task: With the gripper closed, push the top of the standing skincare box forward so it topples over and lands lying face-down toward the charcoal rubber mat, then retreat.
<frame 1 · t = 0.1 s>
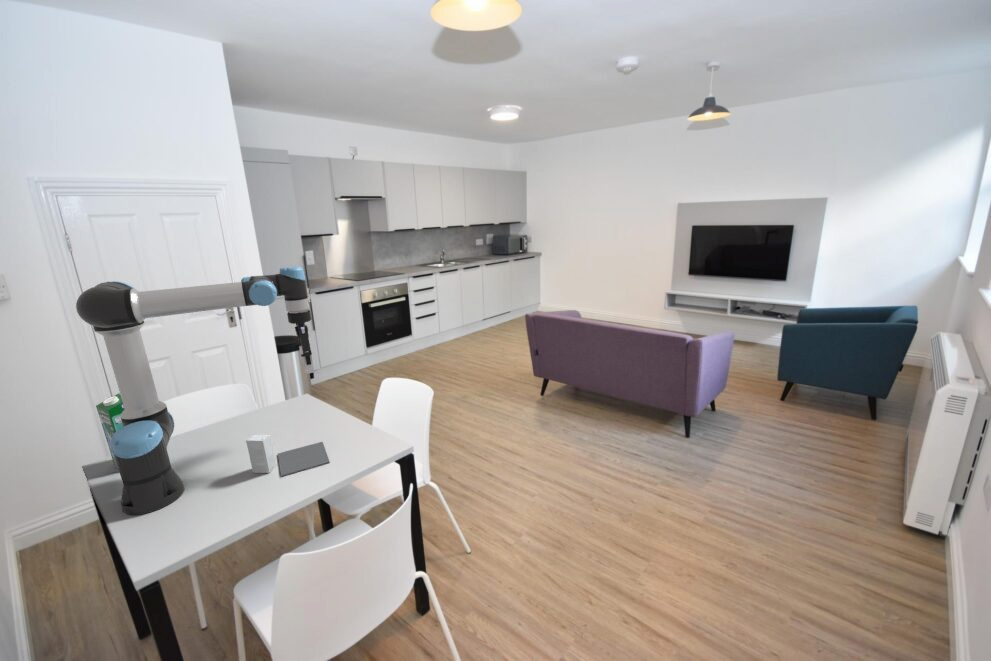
hand: (307, 367, 158), 28 cm above the table, fingers open, 13 cm apart
mat: (303, 458, 150), on the table
milk carton: (135, 461, 154), on the table
skincare box: (265, 470, 145), on the table
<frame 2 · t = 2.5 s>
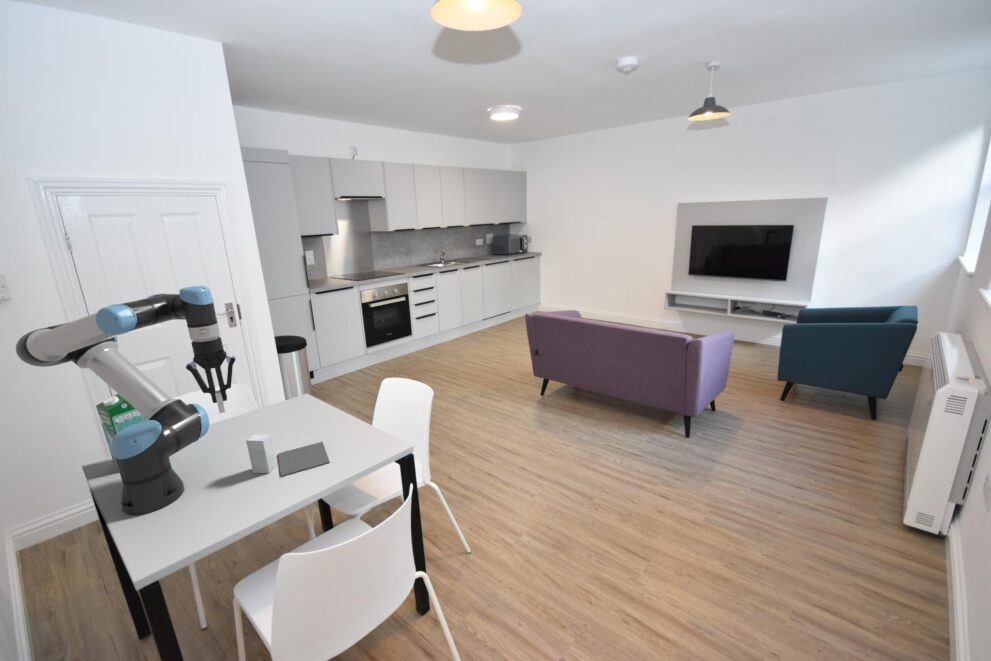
hand: (222, 410, 135), 24 cm above the table, fingers closed
nothing on the table moved.
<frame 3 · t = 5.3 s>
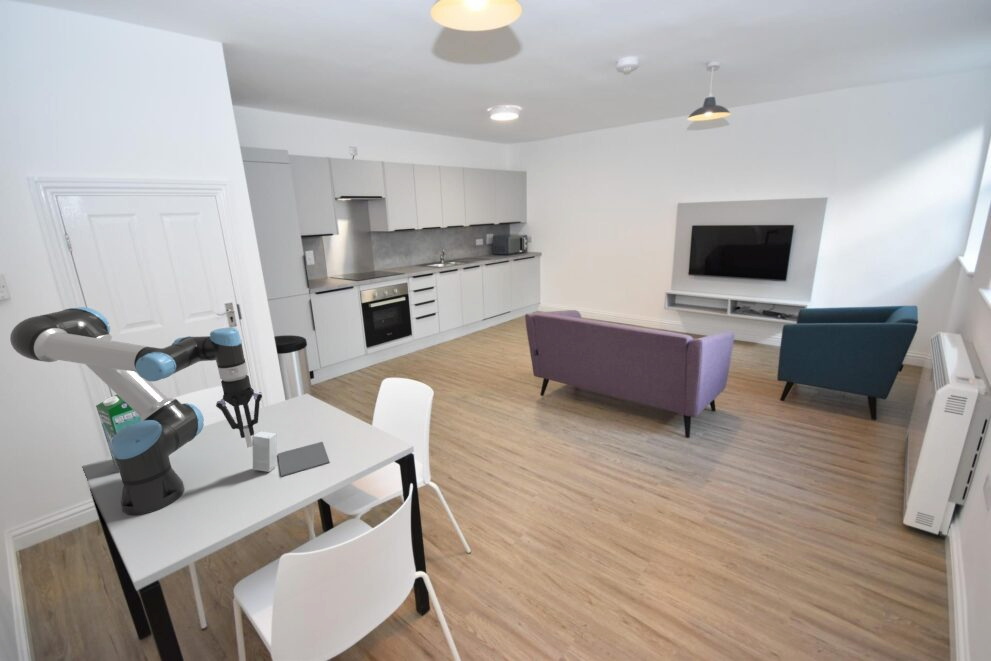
hand: (249, 445, 141), 10 cm above the table, fingers closed
skincare box: (264, 468, 145), on the table, touching gripper
everything else where it was.
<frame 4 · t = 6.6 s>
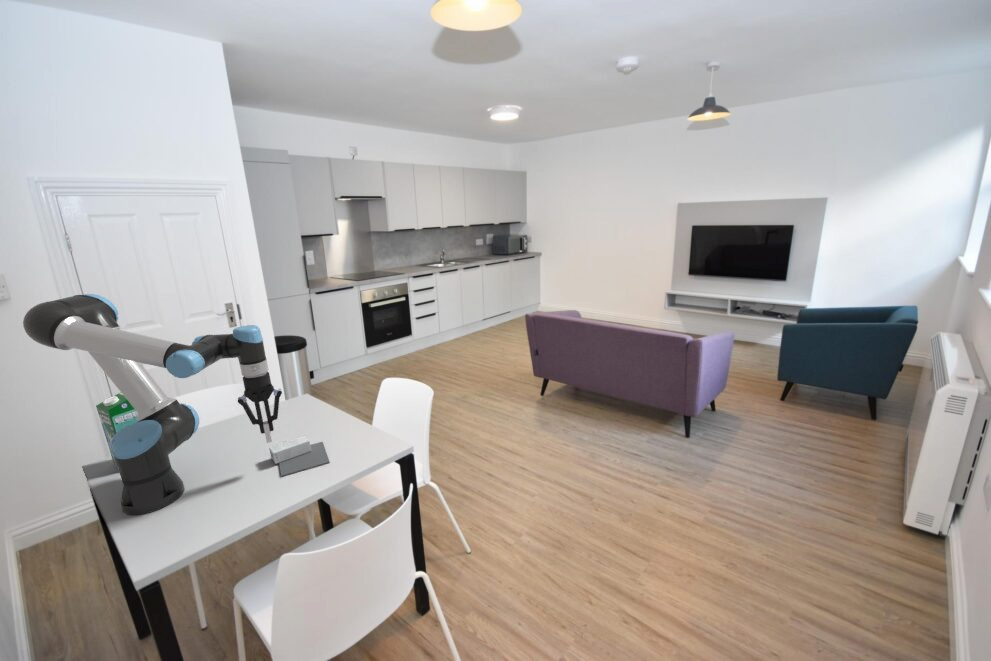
hand: (269, 440, 144), 10 cm above the table, fingers closed
skincare box: (271, 455, 148), point 3 cm above the table, touching mat
everything else where it was.
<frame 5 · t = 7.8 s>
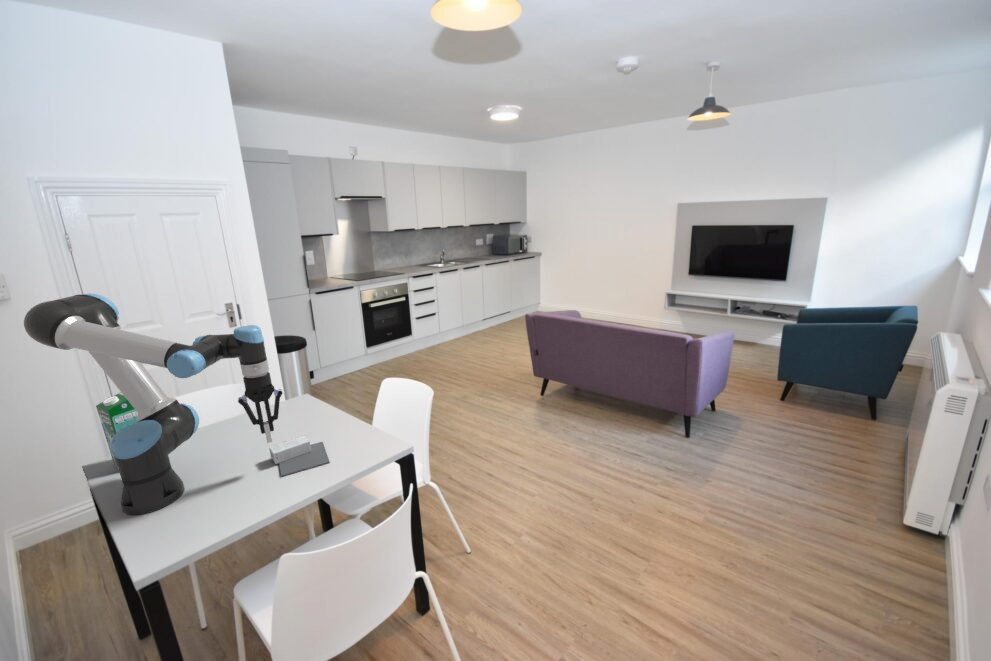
hand: (269, 440, 144), 10 cm above the table, fingers closed
nothing on the table moved.
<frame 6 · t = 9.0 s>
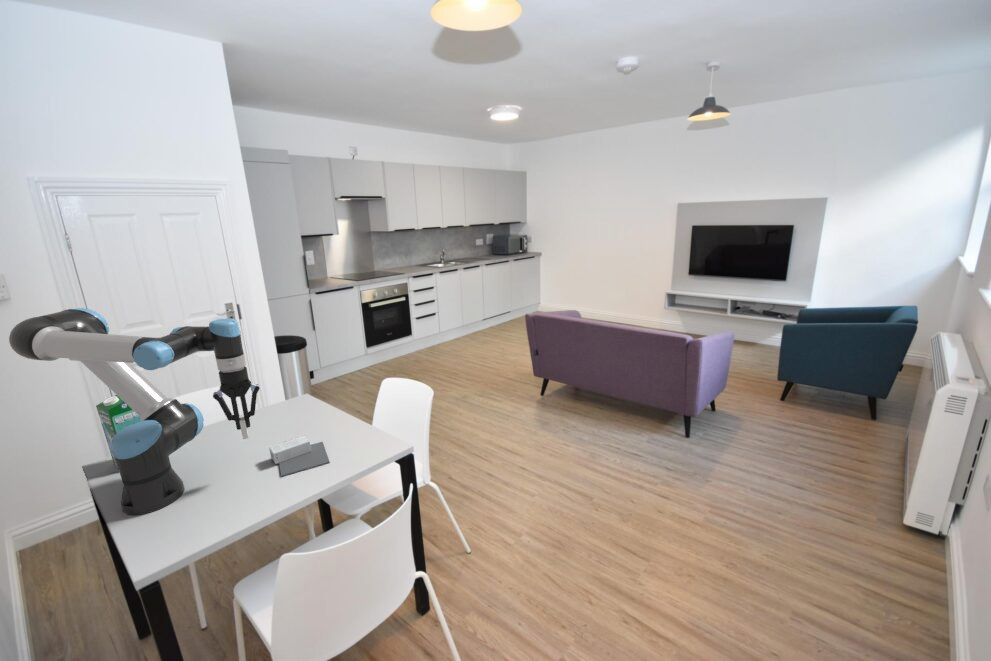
hand: (245, 436, 140), 13 cm above the table, fingers closed
nothing on the table moved.
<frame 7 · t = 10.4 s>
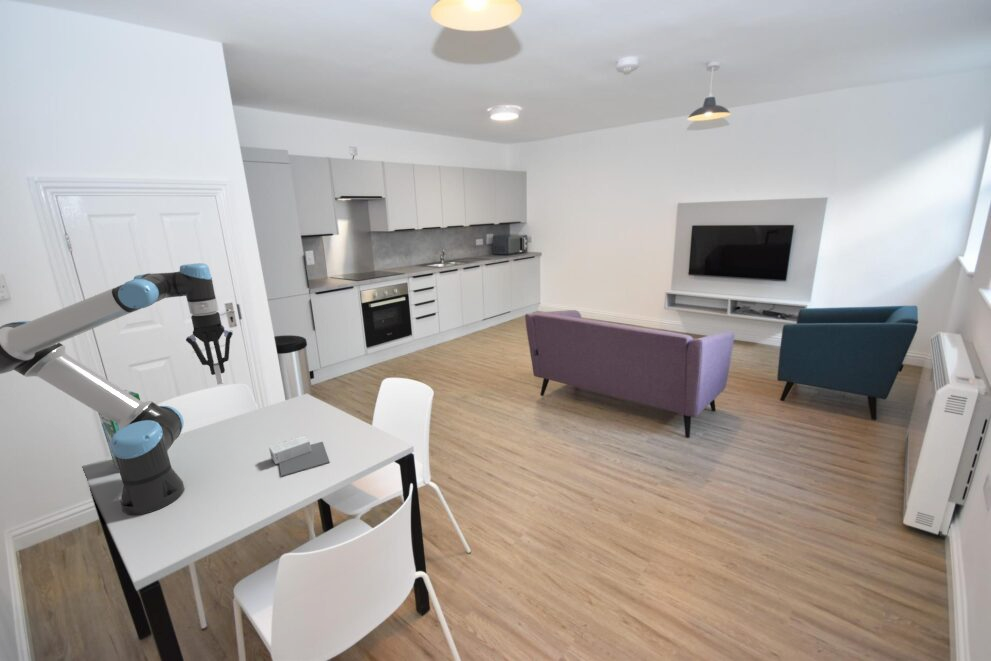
hand: (220, 382, 143), 29 cm above the table, fingers closed
nothing on the table moved.
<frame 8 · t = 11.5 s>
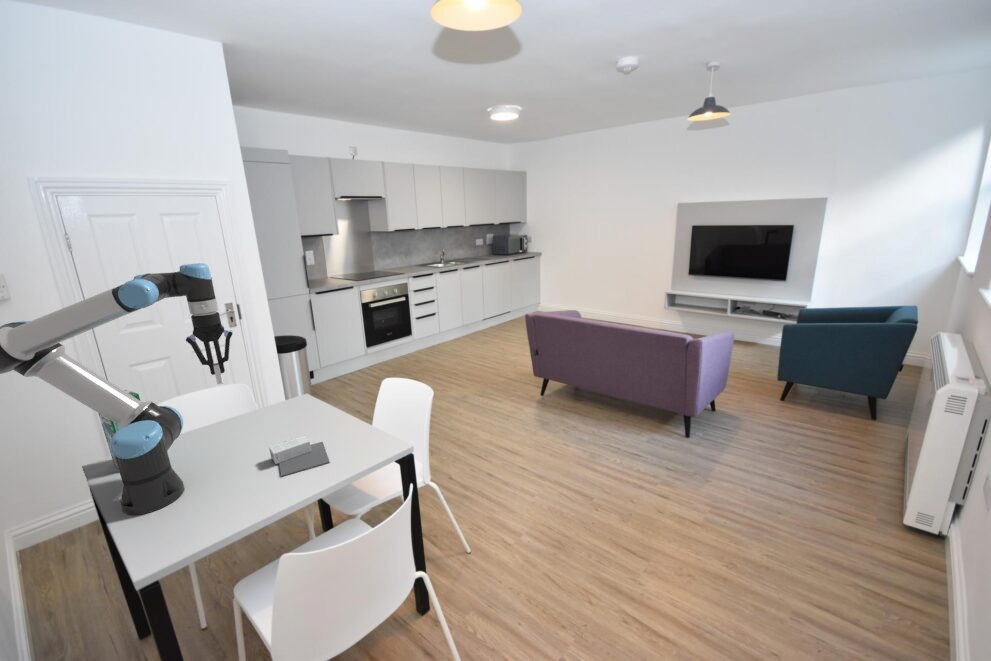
hand: (220, 382, 143), 29 cm above the table, fingers closed
nothing on the table moved.
at the end: skincare box tilted 90°; skincare box inside the target area (3.2 cm from its centre), point 2.6 cm above the table; the gripper is holding nothing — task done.
